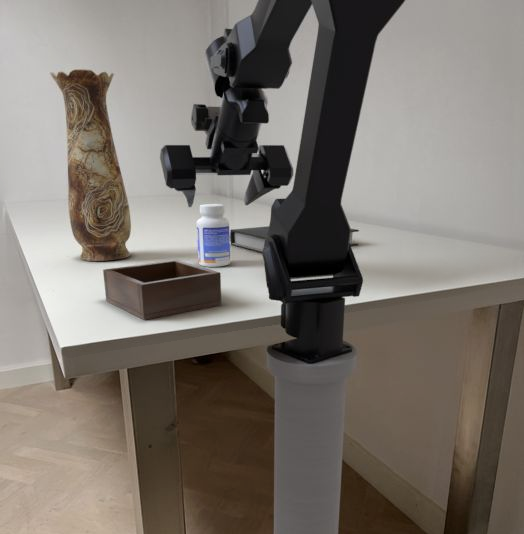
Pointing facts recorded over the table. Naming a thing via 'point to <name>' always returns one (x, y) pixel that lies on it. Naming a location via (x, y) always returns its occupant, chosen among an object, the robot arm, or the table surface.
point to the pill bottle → (213, 236)
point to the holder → (162, 288)
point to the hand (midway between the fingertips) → (217, 203)
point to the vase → (93, 168)
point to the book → (258, 238)
